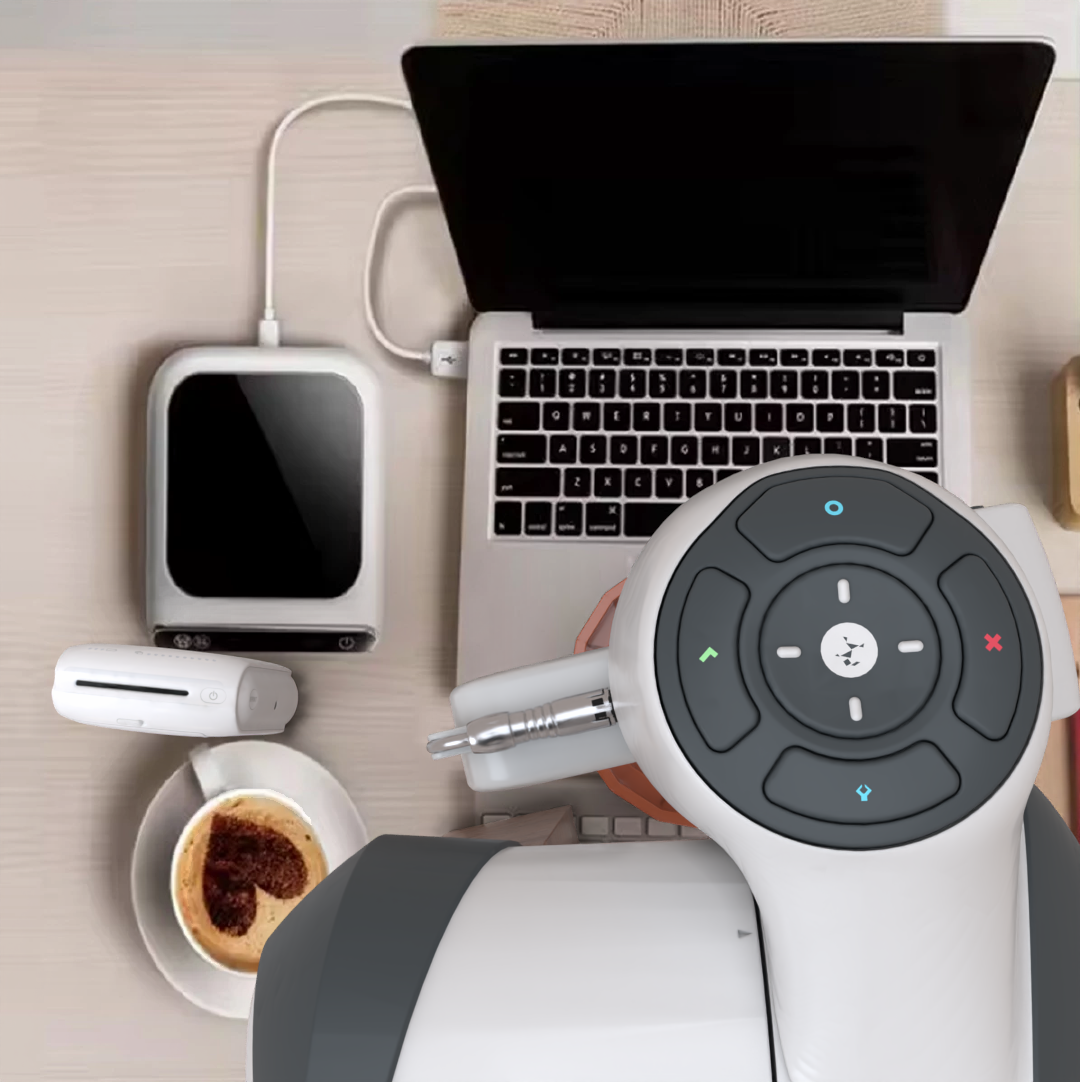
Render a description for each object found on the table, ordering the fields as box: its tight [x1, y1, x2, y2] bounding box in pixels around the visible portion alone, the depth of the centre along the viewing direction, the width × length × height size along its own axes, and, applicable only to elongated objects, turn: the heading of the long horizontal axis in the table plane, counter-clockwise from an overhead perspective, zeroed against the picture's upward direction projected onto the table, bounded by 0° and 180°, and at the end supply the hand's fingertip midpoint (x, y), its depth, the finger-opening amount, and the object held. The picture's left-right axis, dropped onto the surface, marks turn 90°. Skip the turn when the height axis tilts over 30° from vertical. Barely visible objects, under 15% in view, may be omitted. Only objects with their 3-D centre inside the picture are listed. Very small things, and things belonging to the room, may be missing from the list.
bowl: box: [573, 577, 700, 830], centre depth 75 cm, size 14×14×6 cm
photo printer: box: [50, 642, 299, 738], centre depth 73 cm, size 10×4×12 cm, turn 84°
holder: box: [441, 804, 580, 846], centre depth 64 cm, size 7×7×26 cm
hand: (731, 679), depth 54 cm, fingers closed
